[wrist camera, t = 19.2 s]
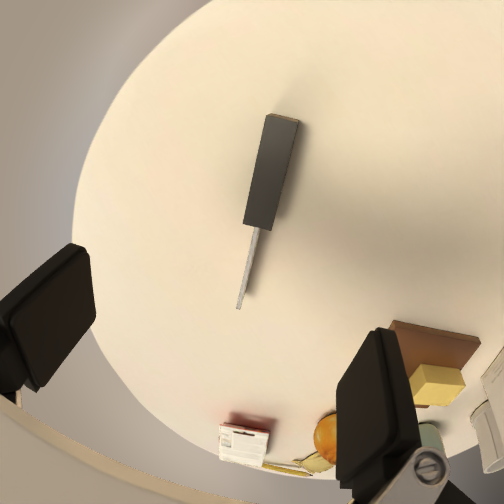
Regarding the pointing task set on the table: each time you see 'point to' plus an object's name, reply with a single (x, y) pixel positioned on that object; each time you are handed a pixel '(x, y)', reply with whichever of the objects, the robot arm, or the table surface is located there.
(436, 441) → the cup
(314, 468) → the hand fan
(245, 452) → the ink box
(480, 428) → the cup
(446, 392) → the butter stick
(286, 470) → the pencil
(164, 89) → the table surface
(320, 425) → the fruit
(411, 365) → the board
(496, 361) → the white product box
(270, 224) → the knife
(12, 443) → the robot arm
